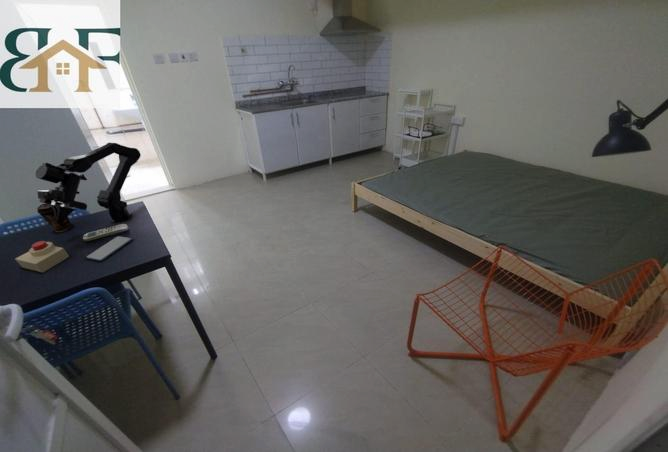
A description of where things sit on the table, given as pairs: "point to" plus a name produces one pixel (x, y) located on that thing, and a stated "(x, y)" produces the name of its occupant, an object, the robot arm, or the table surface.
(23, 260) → the power button base
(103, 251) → the smartphone
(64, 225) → the coffee cup
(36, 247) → the power button
